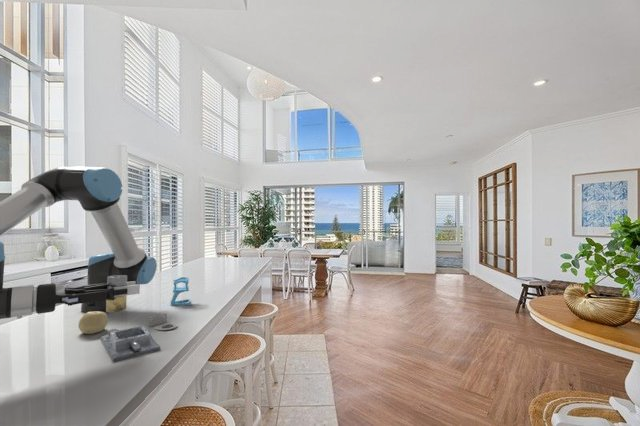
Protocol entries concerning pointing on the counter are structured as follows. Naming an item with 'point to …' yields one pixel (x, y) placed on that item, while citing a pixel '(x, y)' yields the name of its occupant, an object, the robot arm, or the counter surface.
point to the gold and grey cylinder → (119, 301)
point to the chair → (180, 291)
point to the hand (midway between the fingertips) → (137, 287)
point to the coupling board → (129, 343)
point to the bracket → (159, 320)
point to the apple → (93, 322)
